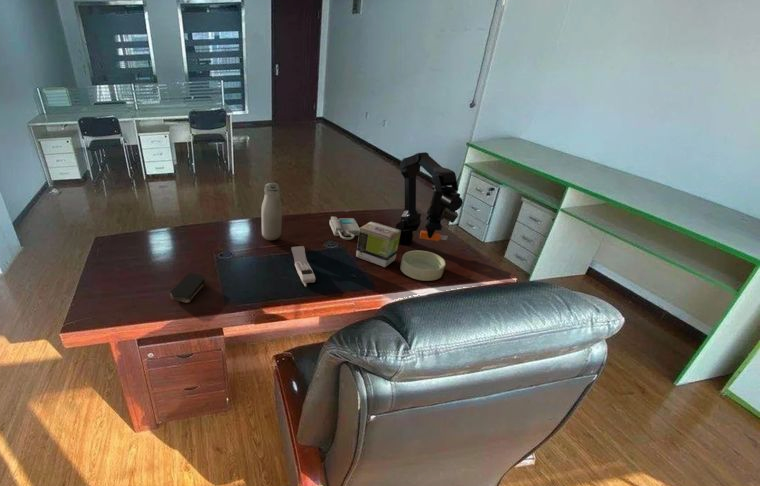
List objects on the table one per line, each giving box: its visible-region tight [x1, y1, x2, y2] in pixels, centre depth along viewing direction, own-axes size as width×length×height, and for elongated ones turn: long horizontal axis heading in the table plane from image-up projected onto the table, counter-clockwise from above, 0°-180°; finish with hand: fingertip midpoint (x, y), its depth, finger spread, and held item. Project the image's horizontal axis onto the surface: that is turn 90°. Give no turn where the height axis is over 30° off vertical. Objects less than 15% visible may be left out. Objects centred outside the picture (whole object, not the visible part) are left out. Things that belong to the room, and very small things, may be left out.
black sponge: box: [169, 272, 206, 304], centre depth 158 cm, size 16×8×4 cm, turn 160°
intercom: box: [329, 216, 361, 241], centre depth 200 cm, size 13×4×25 cm
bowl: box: [399, 249, 446, 282], centre depth 168 cm, size 17×17×6 cm
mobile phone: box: [291, 245, 317, 288], centre depth 169 cm, size 6×6×25 cm
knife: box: [419, 230, 449, 242], centre depth 171 cm, size 11×3×3 cm, turn 68°
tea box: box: [355, 221, 401, 268], centre depth 175 cm, size 15×10×15 cm
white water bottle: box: [260, 182, 283, 241], centre depth 188 cm, size 10×10×28 cm
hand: (429, 236), depth 172 cm, fingers closed on knife, 2 cm apart
